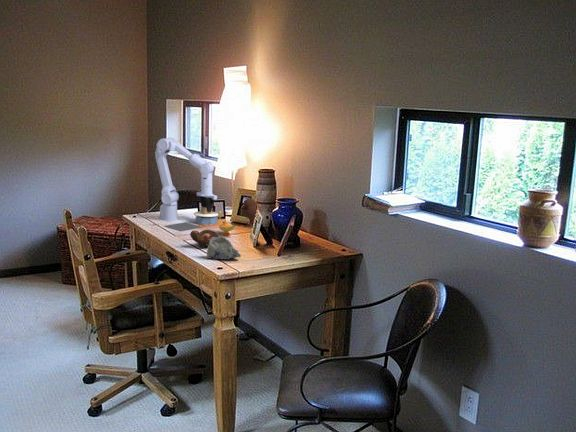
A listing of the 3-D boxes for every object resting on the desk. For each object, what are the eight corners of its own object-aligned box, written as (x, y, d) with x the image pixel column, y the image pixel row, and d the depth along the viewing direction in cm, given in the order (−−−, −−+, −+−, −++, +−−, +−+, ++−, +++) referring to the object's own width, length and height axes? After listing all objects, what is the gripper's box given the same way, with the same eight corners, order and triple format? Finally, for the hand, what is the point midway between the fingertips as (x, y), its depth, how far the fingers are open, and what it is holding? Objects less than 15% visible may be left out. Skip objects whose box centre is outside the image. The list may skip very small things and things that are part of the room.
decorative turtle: (187, 245, 263) (188, 227, 261) (220, 245, 268) (221, 228, 267) (192, 249, 254) (193, 231, 253) (225, 249, 259) (226, 232, 258)
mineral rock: (242, 260, 241) (242, 237, 239) (220, 265, 234) (221, 241, 232) (224, 253, 251) (225, 231, 248) (203, 257, 244) (203, 234, 242)
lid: (188, 213, 305) (188, 206, 304) (207, 211, 315) (208, 204, 314) (204, 217, 297) (204, 210, 296) (223, 215, 306) (223, 207, 305)
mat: (163, 227, 296) (163, 226, 296) (185, 223, 306) (185, 222, 306) (180, 232, 286) (180, 231, 286) (203, 228, 296) (203, 227, 296)
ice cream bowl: (261, 228, 298) (261, 200, 295) (239, 228, 298) (239, 199, 295) (262, 224, 308) (262, 196, 305) (241, 223, 308) (241, 196, 305)
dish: (192, 223, 307) (192, 215, 306) (208, 220, 315) (208, 213, 314) (205, 226, 299) (205, 219, 299) (221, 223, 307) (221, 216, 306)
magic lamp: (231, 240, 274) (231, 217, 271) (212, 232, 288) (212, 210, 286) (243, 238, 278) (244, 216, 276) (224, 230, 292) (224, 209, 290)
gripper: (192, 184, 305) (192, 209, 308) (209, 188, 295) (209, 214, 298) (202, 183, 310) (202, 208, 313) (220, 187, 300) (220, 212, 303)
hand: (206, 211), depth 306 cm, fingers closed on lid, 3 cm apart
